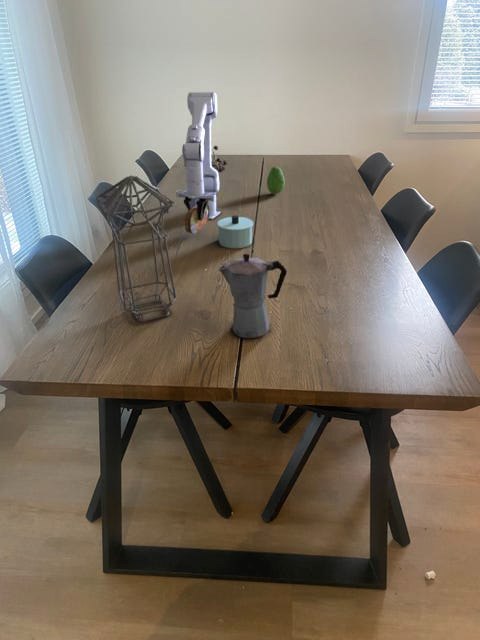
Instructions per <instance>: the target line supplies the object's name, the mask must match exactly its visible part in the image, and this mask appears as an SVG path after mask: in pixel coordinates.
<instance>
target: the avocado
mask: <svg viewBox="0 0 480 640" xmlns="http://www.w3.org/2000/svg"><path fill="white" fill-rule="evenodd" d="M285 184H286V180H285V175H284V174H283V171H282V169H281V168H280V167H279V166H276V165H275V166H273V167H272V168H270V171H269V172H268V176H267V179H266V187H267V190H268V192H269V193H270V194H273V195H277V194H280V193H281V192H282V191H283V190H284V187H285Z"/></svg>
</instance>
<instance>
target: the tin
mask: <svg viewBox="0 0 480 640" xmlns="http://www.w3.org/2000/svg"><path fill="white" fill-rule="evenodd" d="M184 217H185V218H184V229H185V231H186V233H189V234H193V235H196V234H198V233H199V232H200V231H201V230H202V229H203V228H204V227H205V226H206V225H207V224H208V222H209V220H210V219H209V205H208V204H207V206H206V209H205V212H204V218H203V219H202V220H199V214H198V207H197V204H196V205H195V206H194V207H192V208H191V209H190V210H189V211H188V210H187V212H186V213H185V216H184Z"/></svg>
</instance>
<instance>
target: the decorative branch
mask: <svg viewBox="0 0 480 640" xmlns="http://www.w3.org/2000/svg"><path fill="white" fill-rule="evenodd" d="M218 150H219V147H218V145H214V146H213V150H212V154H211V158H213V160H214V161H212V163H213V164H214V165H213V166H212V167H213V168H214V169H215V167H216V168H217V169H218V172H219V173H221V172H224V170H225V169H226V167H225V166H224V165H227V164H228V161H227V160H226V159H223V160H221V159H222V157H221V156H219V155H218V153H215V151H218Z"/></svg>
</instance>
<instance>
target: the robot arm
mask: <svg viewBox="0 0 480 640" xmlns="http://www.w3.org/2000/svg"><path fill="white" fill-rule="evenodd" d="M186 99H187V101H186V102H187V108H188V111H189V113H190V115H191V124H190V125H189V126H188V127H187V133H186V139H185V143H183V144H182V147H181V154H182V159H183V167H185V179H186V180H185V181H186V189H185V190H181V189H178V190H176V191H175V197H176V198H184V199H183V204H184V206H185V207H186V208H187V212H188V211H189V210H190V209H191V208H192V207H194V206H195V205H196V204H197V207H198V214H199V220H202V219H203V218H204V212H205V209H206V206H207V204H208V205H209V219H208V220H214V219H215V218H217V216H219V215H220V214H221V211H219V210H218V211H217V193H218V192H219V191H220V174H219V170H217V169H216V168H215V167H214V168H213V166H212V156H211V155H212V122H213V120H214V119H216V118H217V116H218V95H217V93H216V92H215V91H212V92H211V91H210V92H209V91H208V92H207V91H205V92H204V91H203V92H202V91H201V92H200V91H197V92H196V91H195V92H193V91H189V92H188V94H187V97H186Z"/></svg>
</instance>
